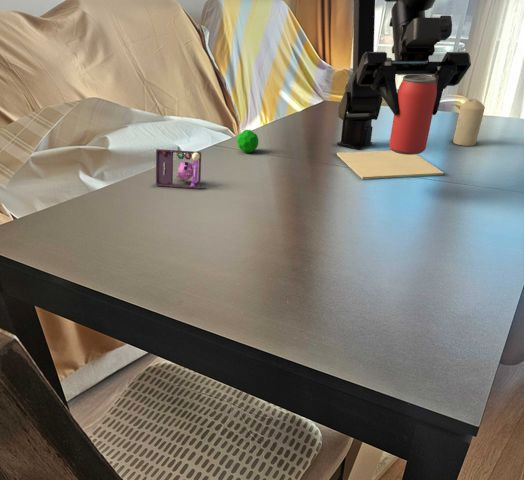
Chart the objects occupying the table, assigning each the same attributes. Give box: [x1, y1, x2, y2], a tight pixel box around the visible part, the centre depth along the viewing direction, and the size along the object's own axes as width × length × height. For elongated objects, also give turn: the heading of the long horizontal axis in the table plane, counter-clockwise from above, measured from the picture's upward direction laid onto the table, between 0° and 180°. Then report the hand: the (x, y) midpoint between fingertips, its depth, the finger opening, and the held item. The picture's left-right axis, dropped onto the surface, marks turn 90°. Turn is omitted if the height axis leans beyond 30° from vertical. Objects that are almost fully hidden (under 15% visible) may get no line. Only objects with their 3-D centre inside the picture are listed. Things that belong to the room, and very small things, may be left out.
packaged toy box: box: [155, 148, 202, 189], centre depth 100 cm, size 7×5×9 cm
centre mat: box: [336, 149, 445, 180], centre depth 113 cm, size 18×18×1 cm
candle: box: [452, 98, 486, 147], centre depth 125 cm, size 6×6×10 cm
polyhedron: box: [236, 129, 259, 154], centre depth 119 cm, size 5×5×5 cm
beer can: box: [388, 75, 437, 155], centre depth 90 cm, size 7×7×12 cm
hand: (415, 113), depth 88 cm, fingers closed on beer can, 6 cm apart
